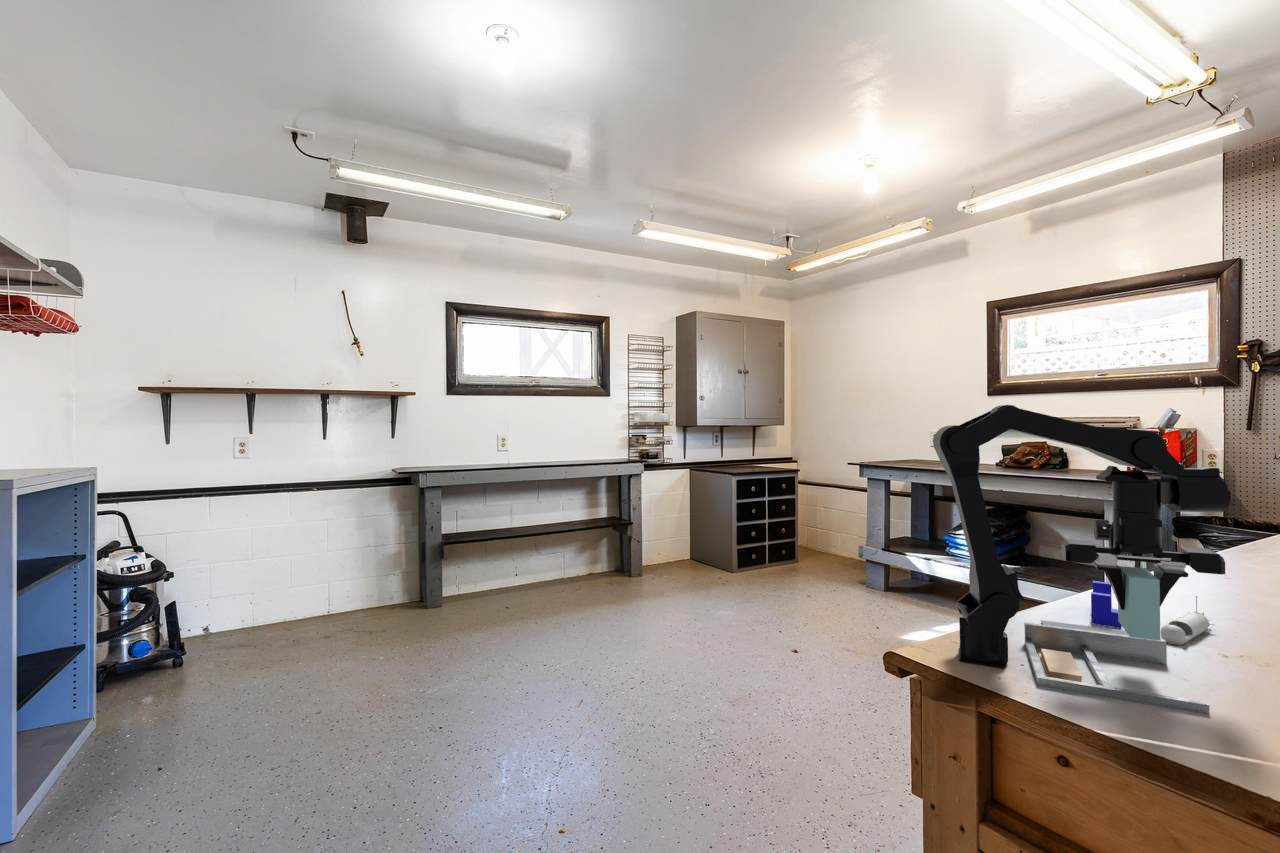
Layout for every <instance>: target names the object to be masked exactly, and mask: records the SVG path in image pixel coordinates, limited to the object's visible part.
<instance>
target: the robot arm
mask: <svg viewBox="0 0 1280 853" xmlns="http://www.w3.org/2000/svg"><path fill="white" fill-rule="evenodd" d="M1007 431H1012V432H1016V433H1019V434H1024V435H1028V436H1032V437H1036V438H1040V439H1043V440H1049V441H1053V442H1056V443H1061V444H1064V445H1068V446H1073V447H1077V448H1081V449H1083V450H1086V451H1088V452H1089V453H1092V454H1094V455H1096V456H1097V457H1100V458H1103V459H1104V460H1107V461H1109V462H1112V463H1114V464H1116V465H1120V466H1125V467H1127V466H1128V467H1134V468H1137V469H1138V470H1121V469H1119V468H1118V467H1117V466H1114V465H1107V467H1106V468H1105V469H1104V470H1103V471H1101V472H1100V473H1099V474H1096V475H1095V479H1096V480H1098V481H1101V482H1102V481H1103V482H1108V483H1112V523H1110V520H1108V519H1098V518H1097V519H1094V520H1093V534H1094V536H1093V537H1094V540H1097V541H1108V546H1097V545H1096V544H1095V543H1094V542H1093V541H1092V540H1086V539H1073V538H1071V539H1070V538H1065V539H1064V540H1063V541H1061V544H1060V545H1061V550H1060V551H1061V556H1062V557H1063V560H1064V561H1065V562H1069V563H1079V564H1092V565H1093V566H1094V567H1095V568H1096V570H1099V571H1102V572H1103V574H1104V575H1105V576H1106V578H1107V580H1108V583H1110V584H1111V590H1112V591H1113V592H1112V593H1114V596H1115V598H1116V601H1117V605H1118V604H1119V607H1120V609H1121V610H1124V609H1125V596H1124V587H1123V579H1122V570H1121V568H1120V567H1119V566H1120V565H1118V560H1119V561H1130V562H1142V563H1152V571H1153V572H1152V574H1153V575H1154V576H1155V577H1157V578H1158V579H1159V580H1160V607H1161V606H1162V605H1163V603H1164V602H1165V599H1166V597H1167V595H1168V594H1169V592H1170V591H1171V590H1172V588H1173V587H1174V586H1175V584H1176V583H1178V581H1179V579H1180V578H1188V577H1189V573H1188V572H1187V571H1186V570H1185V569H1186V568H1187V566H1189V567H1190V568H1191V569H1192V570H1194V572H1196V573H1199V574H1209V575H1226V561H1225V558H1224V557H1223V556H1222V555H1220V554H1219V553H1217V552H1215V551H1213V550H1211V549H1210V548H1207V547H1206V548H1205V547H1204V548H1203V547H1191V546H1190V547H1189V546H1188V547H1187V546H1178V548H1177V551H1168V550H1166V551H1165V550H1163V547H1162V545H1163V544H1162V528H1163V520H1162V504H1163V505H1165V506H1166V507H1167V508H1168V509H1169V510H1170V511H1171V512H1180V513H1181V512H1183V513H1185V512H1187V513H1217V514H1220V513H1224V512H1225V511H1226V510H1227V509H1228V508H1229V506H1230V503H1231V491H1230V490H1229V487H1228V485H1227V483H1226V481H1225V479H1224V478H1223V477H1222V476H1221V475H1220V474H1221V470H1220V468H1218V467H1211V466H1210V467H1209V466H1206V467H1205V466H1203V467H1202V466H1200V467H1194V468H1193V467H1192V468H1189V467H1187V468H1185V467H1184V466H1183V465H1181V463H1180V462H1179V461H1178V460H1177V459H1176V458H1175V457H1174V456H1173V455H1172V454H1171V452H1169V450H1168V446H1167V443H1166V440H1165V439H1164V437H1163V436H1162V435H1161V434H1159V433H1158V432H1155V431H1153V430H1147V429H1145V430H1144V429H1135V428H1133V429H1132V428H1119V427H1108V426H1107V427H1105V426H1095V425H1092V424H1087V423H1082V422H1079V421H1075V420H1071V419H1065V418H1061V417H1057V416H1053V415H1049V414H1045V413H1040V412H1035V411H1031V410H1027V409H1024V408H1019V407H1017V406H1016V405H1012V404H1002V405H997V406H995V407H993V408H992V409H991V410H989V411H987V412H985V413H983V414H981V415H978V416H975V418H972V419H969V420H967V421H965V422H963V423H961V424H958V425H957V424H956V425H955V424H954V425H945V426H941V428H939V429H938V430H937V431H936V432H935V434H934V435H933V439H932V445H933V449H934V450H935V452H936V453H935V454H937V458H938V459H939V461H940V464H941V465H942V467H943V469H944V470H945V472H946V475H947V476H948V478H949V480H950V483H951V487H952V491H953V494H954V495H953V496H954V499H955V503H956V506H957V511H958V514H959V518H960V523H961V527H962V531H963V536H964V539H965V543H966V547H967V551H968V554H969V558H970V559H969V562H970V563H969V573H968V577H969V590H968V592H966V593H965V594H964V595H963V596H961V597H960V598H959V599H958V600H957V601H956V602H955V604H956V605H955V606H956V607H957V610H958V612H959V614H960V615H961V616H962V617H959V621H958V622H959V623H958V624H959V648H958V654H959V655H958V661H959V662H960V663H965V664H971V665H976V666H982V667H989V668H995V669H1001V670H1005V669H1006V663H1008V662H1009V638H1008V634H1007V633H1006V632H1005V631H1006V628H1007V625H1008V623H1009V621H1010V619H1012V618H1013V617H1015V616H1016V615H1017V613H1018V612H1019V611H1020V608H1021V605H1020V604H1021V602H1020V600H1024V598H1025V597H1024V596H1023V595H1022V593H1021V592H1020V589H1019V579H1018V574H1017V573H1016V572H1015V571H1014V570H1013V569H1011V568H1010V567H1009V566H1008V565H1006V564H1004V565H1002V564H1001V560H1000V559H999V553H998V550H997V546H996V543H995V542H996V541H995V539H994V534H993V531H992V527H991V524H990V523H991V522H990V519H989V514H988V512H987V507H986V504H985V499H984V496H983V495H984V494H983V492H982V491H983V490H982V488H981V484H980V480H979V473H980V472H979V470H980V463H981V462H980V461H981V458H980V447H981V446H982V445H984V444H987V443H989V442H991V441H993V439H995V438H997V437H999V436H1001V435H1003V433H1005V432H1007ZM1145 472H1146V473H1153V474H1160V477H1156V476H1155V477H1152V476H1149V477H1148V476H1147V474H1146V473H1145Z"/></svg>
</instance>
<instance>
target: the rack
mask: <svg viewBox="0 0 1280 853" xmlns="http://www.w3.org/2000/svg"><path fill="white" fill-rule="evenodd" d="M1023 623H1024V627H1023V628H1024V645H1025V649H1026V652H1027V655H1028V658H1029V662H1030V665H1031V668H1032V673H1033V674H1034V678H1035V681H1036V685H1037V686H1038V687H1040V688H1041V687H1042V688H1049V689H1055V690H1060V691H1064V692H1065V691H1066V692H1073V693H1078V694H1085V695H1089V696H1096V697H1102V698H1109V699H1115V700H1120V701H1127V702H1131V703H1138V704H1145V705H1150V706H1157V707H1162V708H1169V709H1175V710H1181V711H1187V712H1193V713H1199V714H1205V715H1210V705H1209V703H1208V702H1207V701H1202V700H1196V699H1188V698H1182V697H1179V696H1178V697H1176V696H1170V695H1163V694H1158V693H1152V692H1151V693H1150V692H1146V691H1145V692H1144V691H1139V690H1135V689H1134V690H1133V689H1128V688H1127V689H1126V688H1119V687H1114V686H1113V685H1112V684H1111V682H1110V680H1109V678H1108V677H1107V675H1106V674H1105V672H1104V670H1103V668H1102V666H1101V664H1100V663H1099V661H1098V660H1097V658H1096V657H1095V656H1097V657H1098V656H1099V657H1107V658H1114V659H1121V660H1128V661H1134V662H1135V661H1136V662H1142V663H1148V664H1149V663H1150V664H1156V665H1164V666H1167V665H1168V661H1167V660H1168V659H1167V658H1168V655H1167V648H1168V646H1167V642H1166V641H1165V640H1163V639H1162V638H1160V641H1158V640H1151V639H1143V638H1135V637H1130V636H1129V635H1121V634H1113V633H1105V632H1097V631H1089V630H1081V629H1073V628H1065V627H1057V626H1049V625H1042V623H1041V624H1039V623H1033V622H1031V623H1030V622H1023ZM1036 648H1040V649H1048V650H1055V651H1061V652H1068V653H1071V652H1072V653H1079V654H1082V656H1083V659H1084V660H1085V662H1086V664H1087V665H1088V667H1089V670H1090V671H1091V673H1092V675H1093V677H1094V679H1095V681H1096V682H1097V684H1094V683H1089V682H1084V681H1083V682H1077V681H1071V680H1065V679H1058V678H1052V677H1047V675H1046V674H1045V673H1044V669H1043V666H1042V664H1041V660H1040V657H1039V654H1038V652H1037V650H1036Z"/></svg>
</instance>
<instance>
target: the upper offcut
mask: <svg viewBox="0 0 1280 853" xmlns="http://www.w3.org/2000/svg"><path fill="white" fill-rule="evenodd" d="M1040 653H1041V657H1042V660H1043V662H1044V665H1045V668H1046V671H1047V674H1048V676H1049V677H1052V678H1058V679H1065V680H1071V681H1077V682H1082V681H1083V676H1082V674H1081V671H1080V670H1079V668H1078V665H1077V664H1076V661H1075V660H1074V657H1073V655H1072V653H1071V652H1069V651H1062V650H1055V649H1048V648H1040Z"/></svg>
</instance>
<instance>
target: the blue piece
mask: <svg viewBox="0 0 1280 853" xmlns="http://www.w3.org/2000/svg"><path fill="white" fill-rule="evenodd" d="M1112 598H1113V597H1112V587H1111V584H1110V582H1105V581H1098V580H1097V581H1096V580H1092V591H1091V592H1090V602H1091V604H1090V607H1091V608H1090V609H1091V612H1090V615H1091V616H1090V617H1091V618H1090V620H1091V624H1092V623H1094V624H1093V625H1098V624H1100V625H1099V626H1104V625H1106V627H1110V626H1112V627H1113V628H1117V627H1119V628H1118V629H1122V625H1121V624H1120V623H1119V621H1118V608H1116V609H1115V608H1113V606H1112V604H1113V601H1112Z"/></svg>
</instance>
